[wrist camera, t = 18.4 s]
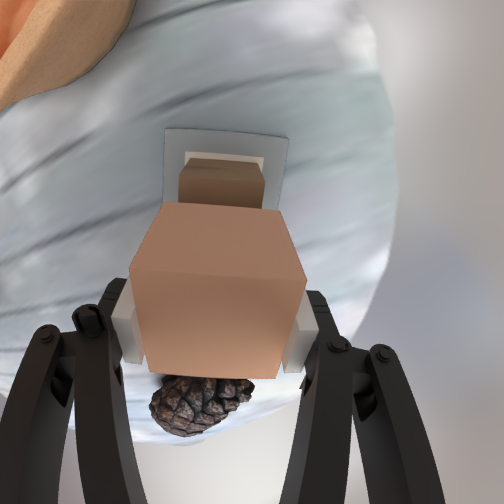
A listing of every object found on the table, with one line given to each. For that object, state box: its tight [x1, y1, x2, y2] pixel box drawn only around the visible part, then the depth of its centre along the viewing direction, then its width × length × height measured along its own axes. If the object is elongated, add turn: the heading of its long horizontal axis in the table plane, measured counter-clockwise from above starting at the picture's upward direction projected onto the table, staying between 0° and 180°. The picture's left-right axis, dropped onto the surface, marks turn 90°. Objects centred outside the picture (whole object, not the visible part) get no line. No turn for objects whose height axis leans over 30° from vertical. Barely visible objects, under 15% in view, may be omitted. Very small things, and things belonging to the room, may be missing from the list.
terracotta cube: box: [129, 202, 307, 379], centre depth 13 cm, size 6×6×6 cm
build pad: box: [163, 128, 289, 210], centre depth 26 cm, size 11×11×1 cm
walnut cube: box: [178, 158, 265, 209], centre depth 23 cm, size 6×6×6 cm
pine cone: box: [149, 374, 255, 437], centre depth 38 cm, size 10×18×10 cm, turn 129°
